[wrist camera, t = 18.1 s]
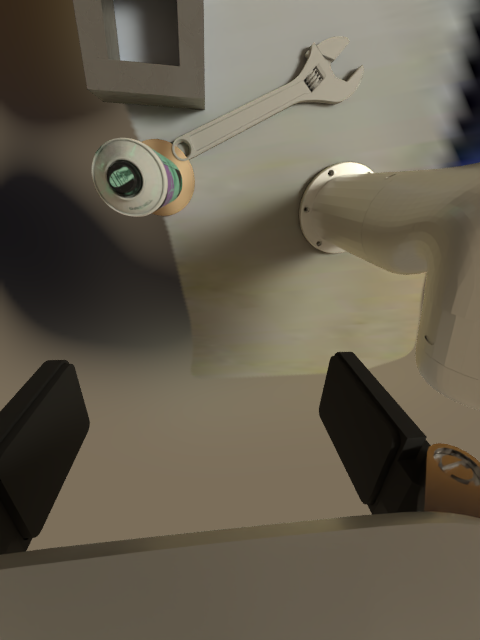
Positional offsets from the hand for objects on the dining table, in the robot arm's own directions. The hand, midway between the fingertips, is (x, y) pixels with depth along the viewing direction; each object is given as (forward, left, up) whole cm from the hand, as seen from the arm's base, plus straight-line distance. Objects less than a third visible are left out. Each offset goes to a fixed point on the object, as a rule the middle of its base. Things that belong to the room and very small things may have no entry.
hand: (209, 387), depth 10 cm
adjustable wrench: (-7, -16, -35) cm, 39 cm away
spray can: (+6, -7, -34) cm, 35 cm away
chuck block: (+6, -21, -34) cm, 41 cm away
